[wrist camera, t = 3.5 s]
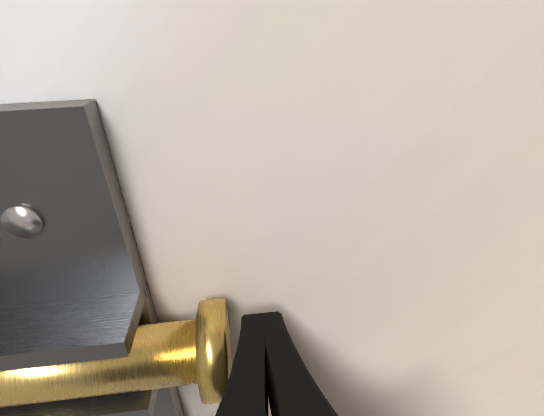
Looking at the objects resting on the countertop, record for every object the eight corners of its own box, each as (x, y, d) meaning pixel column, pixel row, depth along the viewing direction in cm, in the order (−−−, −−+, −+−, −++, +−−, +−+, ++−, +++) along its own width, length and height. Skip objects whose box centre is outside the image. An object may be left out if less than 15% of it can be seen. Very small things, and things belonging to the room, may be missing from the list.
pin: (231, 340, 14) (232, 422, 11) (-116, 379, 13) (-210, 479, 10) (223, 278, 12) (221, 357, 9) (-174, 317, 11) (-305, 418, 8)
